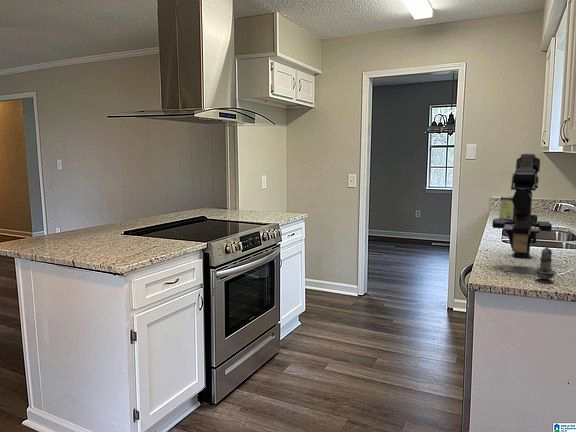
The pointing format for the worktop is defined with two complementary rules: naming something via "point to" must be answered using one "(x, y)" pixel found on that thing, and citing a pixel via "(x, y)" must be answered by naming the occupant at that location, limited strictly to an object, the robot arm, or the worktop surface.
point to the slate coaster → (518, 269)
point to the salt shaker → (545, 267)
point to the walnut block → (520, 243)
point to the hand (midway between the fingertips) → (519, 248)
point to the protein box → (506, 209)
